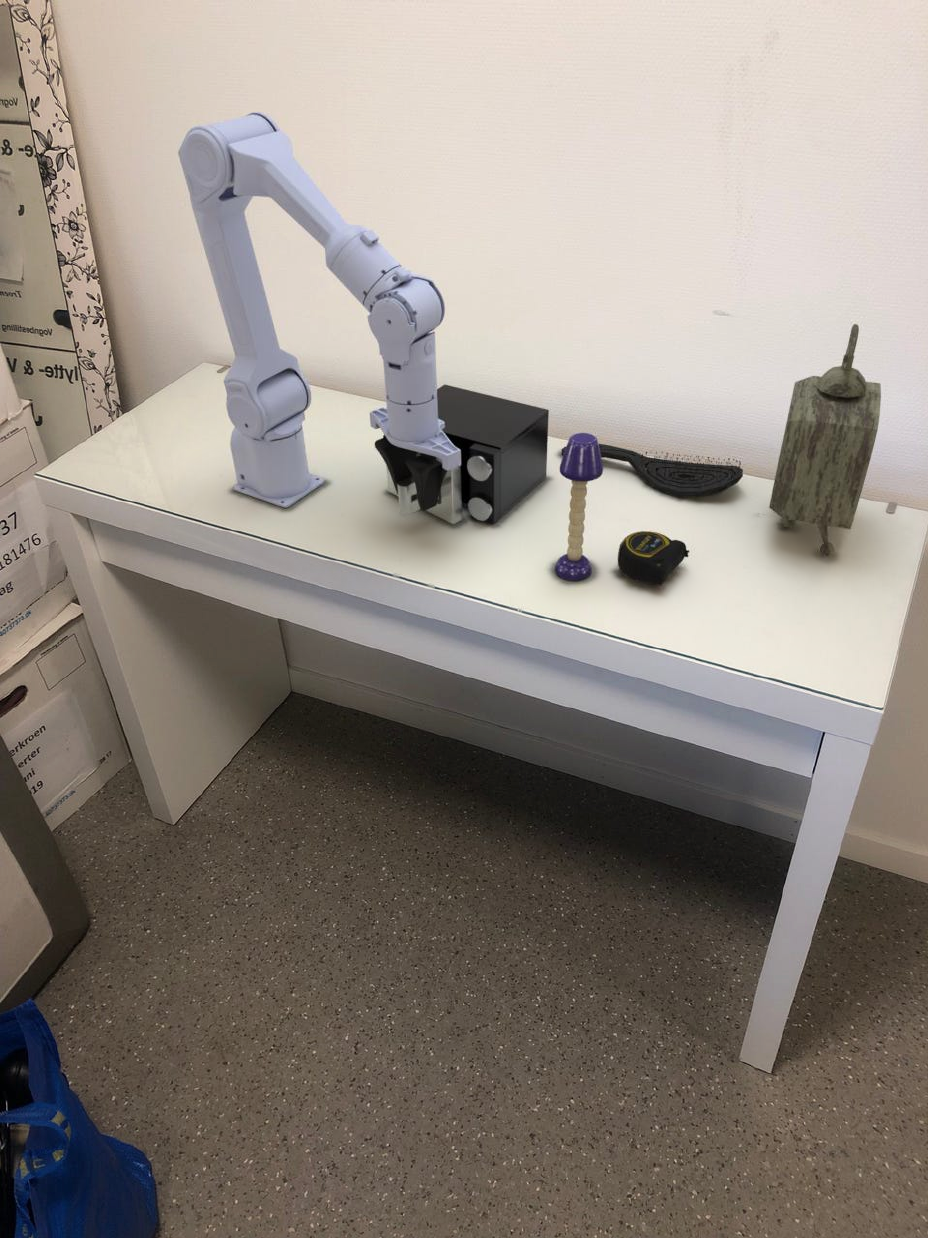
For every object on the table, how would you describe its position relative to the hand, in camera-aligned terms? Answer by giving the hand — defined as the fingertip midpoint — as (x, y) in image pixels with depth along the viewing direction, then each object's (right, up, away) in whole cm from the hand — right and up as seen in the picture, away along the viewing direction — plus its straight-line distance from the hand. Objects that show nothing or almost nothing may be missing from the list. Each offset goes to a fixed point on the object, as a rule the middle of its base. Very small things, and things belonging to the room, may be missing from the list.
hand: (417, 499), depth 110 cm
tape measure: (+27, -9, -5) cm, 29 cm away
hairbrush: (+30, +5, +14) cm, 34 cm away
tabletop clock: (+47, -3, +2) cm, 47 cm away
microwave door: (-2, -1, +6) cm, 7 cm away
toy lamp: (+18, -9, -4) cm, 21 cm away
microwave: (+6, +3, +12) cm, 14 cm away
